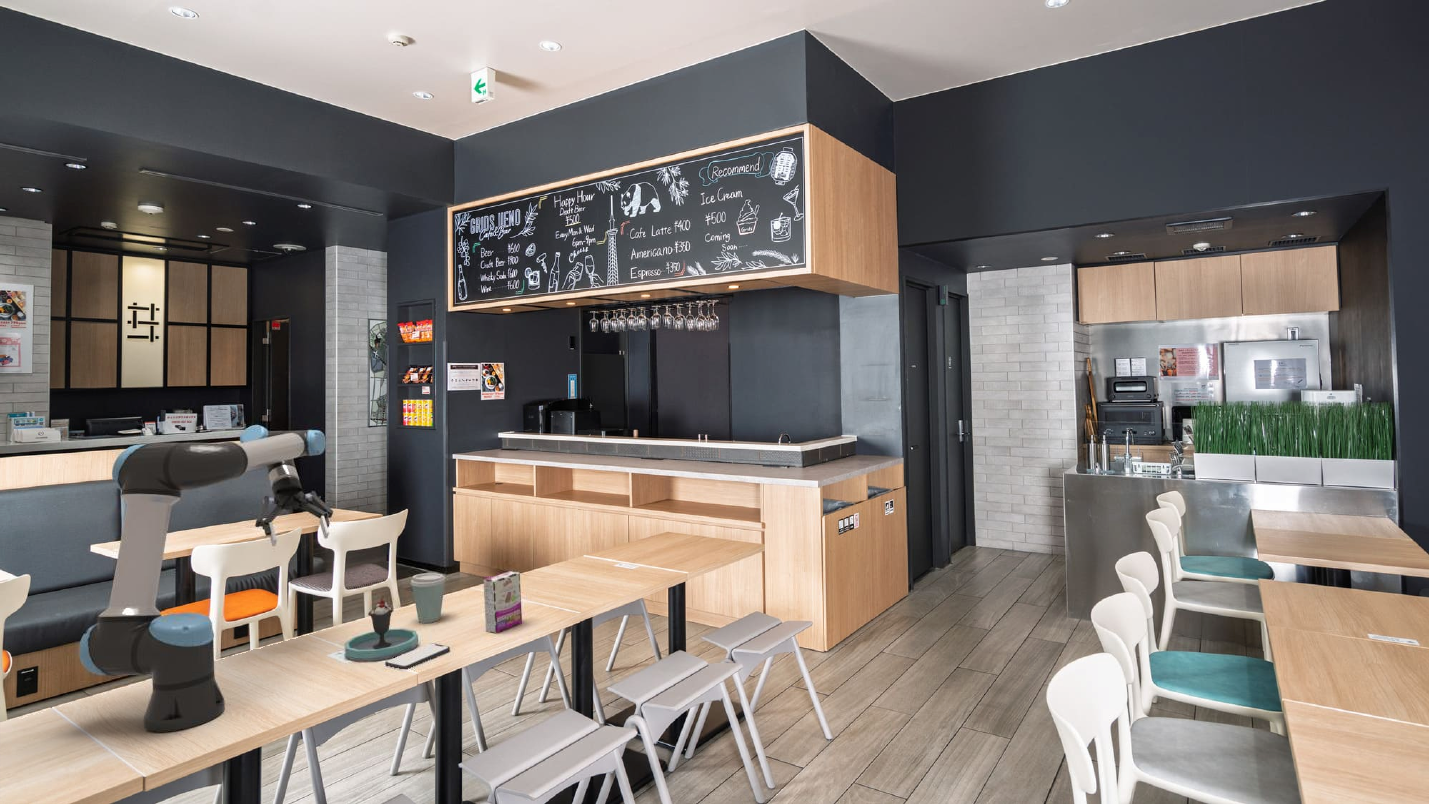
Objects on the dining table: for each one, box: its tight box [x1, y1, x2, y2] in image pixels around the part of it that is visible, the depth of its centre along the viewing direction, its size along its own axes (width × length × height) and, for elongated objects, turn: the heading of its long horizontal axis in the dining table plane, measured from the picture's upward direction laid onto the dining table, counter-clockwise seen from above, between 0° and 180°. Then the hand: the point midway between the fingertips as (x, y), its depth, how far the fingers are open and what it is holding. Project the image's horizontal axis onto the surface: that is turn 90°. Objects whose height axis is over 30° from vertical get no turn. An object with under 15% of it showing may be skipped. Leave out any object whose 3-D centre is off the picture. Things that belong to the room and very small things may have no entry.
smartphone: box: [384, 643, 451, 670], centre depth 204 cm, size 9×2×16 cm
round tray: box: [344, 628, 419, 662], centre depth 212 cm, size 19×19×3 cm
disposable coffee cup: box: [410, 572, 446, 624], centre depth 238 cm, size 11×11×15 cm
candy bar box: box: [483, 570, 523, 634], centre depth 229 cm, size 11×5×16 cm, turn 150°
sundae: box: [368, 595, 395, 649], centre depth 212 cm, size 7×7×15 cm
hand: (301, 539), depth 212 cm, fingers open, 13 cm apart
